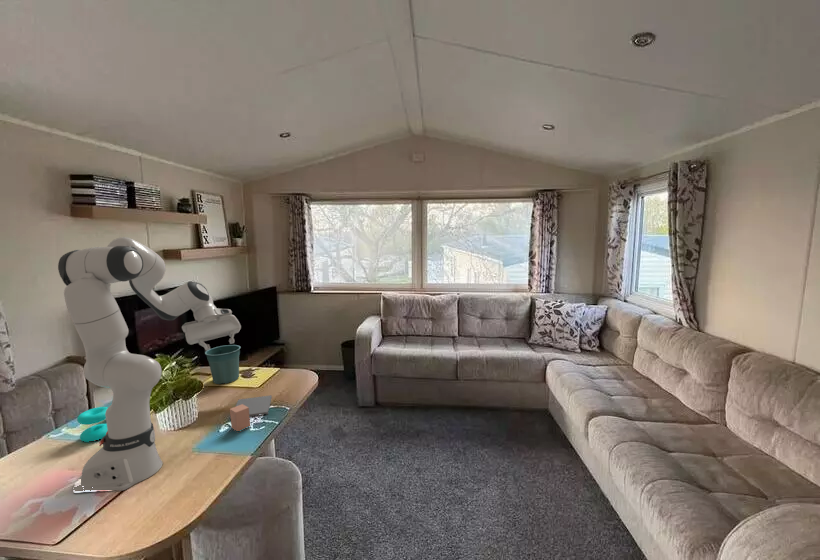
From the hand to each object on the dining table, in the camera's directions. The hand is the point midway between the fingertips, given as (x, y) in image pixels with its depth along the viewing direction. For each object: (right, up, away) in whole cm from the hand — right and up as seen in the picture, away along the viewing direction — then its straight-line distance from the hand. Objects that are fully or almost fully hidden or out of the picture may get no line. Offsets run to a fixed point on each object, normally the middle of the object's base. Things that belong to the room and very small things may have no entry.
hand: (220, 346), depth 153 cm
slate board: (+8, -29, +13) cm, 32 cm away
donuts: (-43, -33, -7) cm, 55 cm away
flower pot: (-20, -26, +46) cm, 56 cm away
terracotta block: (+10, -31, -4) cm, 33 cm away
